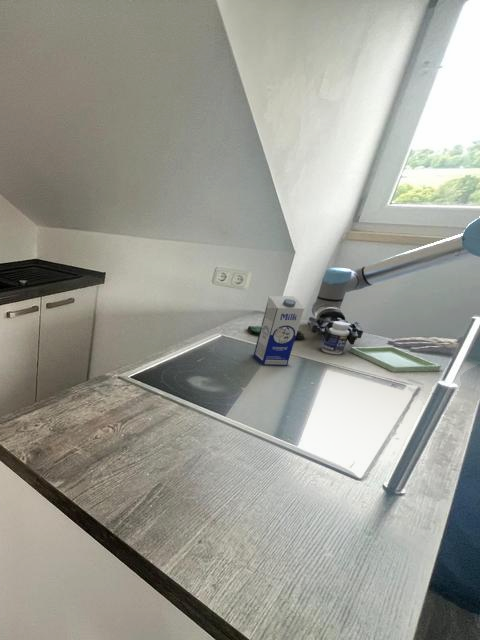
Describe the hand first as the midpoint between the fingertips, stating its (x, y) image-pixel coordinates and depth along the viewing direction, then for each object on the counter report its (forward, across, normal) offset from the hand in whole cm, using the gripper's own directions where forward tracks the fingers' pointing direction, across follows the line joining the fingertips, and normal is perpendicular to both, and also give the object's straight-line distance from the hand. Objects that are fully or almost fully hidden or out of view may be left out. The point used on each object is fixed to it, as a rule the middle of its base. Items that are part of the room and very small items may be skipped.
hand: (340, 338), depth 120 cm
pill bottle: (-5, 0, -6) cm, 8 cm away
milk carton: (+12, +17, -6) cm, 22 cm away
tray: (-4, -14, -6) cm, 16 cm away
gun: (-15, +15, -6) cm, 22 cm away
